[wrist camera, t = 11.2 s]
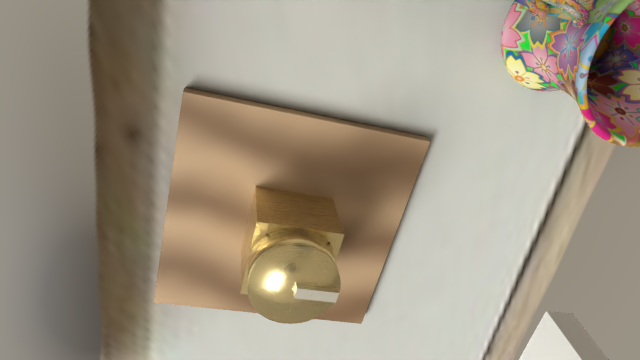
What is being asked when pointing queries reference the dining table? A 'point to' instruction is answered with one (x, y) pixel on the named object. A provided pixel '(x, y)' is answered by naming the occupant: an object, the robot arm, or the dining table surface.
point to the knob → (291, 255)
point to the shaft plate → (283, 174)
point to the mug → (581, 58)
